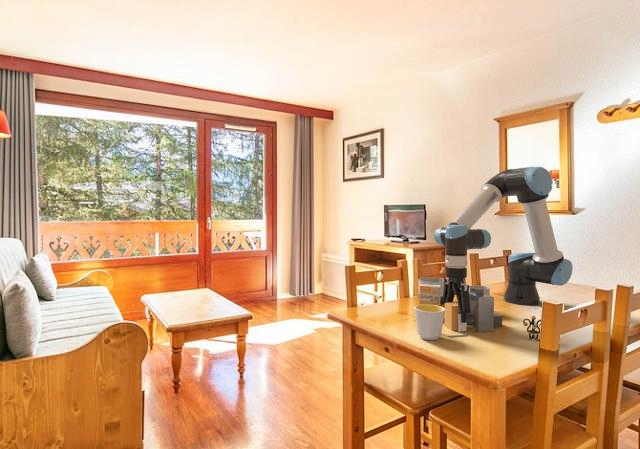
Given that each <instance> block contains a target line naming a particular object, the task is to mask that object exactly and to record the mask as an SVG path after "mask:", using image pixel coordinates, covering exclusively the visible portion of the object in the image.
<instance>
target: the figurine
mask: <svg viewBox="0 0 640 449" xmlns="http://www.w3.org/2000/svg"><path fill="white" fill-rule="evenodd" d="M536 319H537V317H536V316H535V315H532V316H531V320H530V319H529V318H523V320H522V323H523V324H522V325H523V326H524V327H527V328H526V331H525V332H526V333H528V337H527V338H528V340H532V341H534V340H535V341H539V339H540V338H539V335H540V333H541V331H540V330H541V328H540V325H541V324H542V323H540V322H542V321H541V320H542V319H538V320H537V321H536ZM526 321H528V322H526ZM528 323H529V324H528ZM539 323H540V324H539ZM530 328H531V329H530ZM537 329H538V330H537ZM535 341H534V342H535Z"/></svg>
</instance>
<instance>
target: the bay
mask: <svg viewBox="0 0 640 449" xmlns="http://www.w3.org/2000/svg"><path fill="white" fill-rule="evenodd" d="M443 323H445V320H444V321H443ZM447 337H448V338H457V337H458V338H459V337H460V338H461V337H468V334H454V335H447Z"/></svg>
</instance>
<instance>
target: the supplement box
mask: <svg viewBox="0 0 640 449" xmlns="http://www.w3.org/2000/svg"><path fill="white" fill-rule="evenodd" d="M440 289H441V285H429V284H420V296H419V298H418V299H419V302H418V303H419V304H418V305H421V304H430V305H437V306H441V303H440Z"/></svg>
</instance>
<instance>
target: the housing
mask: <svg viewBox="0 0 640 449" xmlns="http://www.w3.org/2000/svg"><path fill="white" fill-rule="evenodd" d="M469 300H470V310H471V313H467V321H471V320H475V326H474V327H475V328H474V330H475V331H476V332H478V333H484V332H486V333H487V332H494V330H495V329H494V328H495V327H494V313H495V307H494V306H495V296H493V295H491V294H490V295H487V294H485V293H484V289H481V288H479V287H470V290H469Z"/></svg>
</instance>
